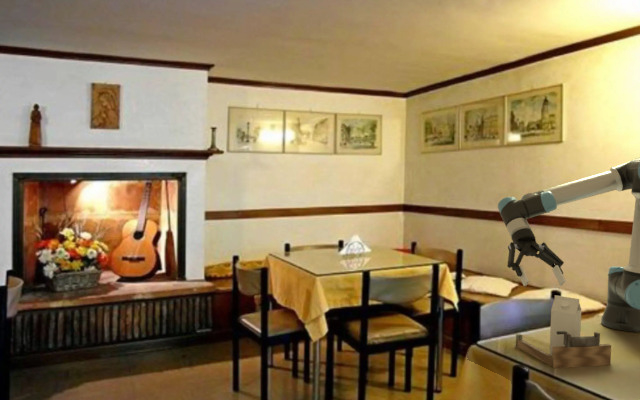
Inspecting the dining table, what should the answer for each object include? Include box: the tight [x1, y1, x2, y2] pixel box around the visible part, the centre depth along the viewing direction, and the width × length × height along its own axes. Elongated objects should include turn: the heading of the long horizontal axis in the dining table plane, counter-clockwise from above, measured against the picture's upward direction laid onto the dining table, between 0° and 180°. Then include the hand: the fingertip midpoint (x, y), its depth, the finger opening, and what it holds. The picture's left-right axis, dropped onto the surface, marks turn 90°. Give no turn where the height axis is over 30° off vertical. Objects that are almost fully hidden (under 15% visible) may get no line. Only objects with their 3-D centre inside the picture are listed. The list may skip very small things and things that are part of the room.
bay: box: [515, 331, 612, 369], centre depth 162 cm, size 19×21×11 cm
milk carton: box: [549, 294, 582, 355], centre depth 160 cm, size 7×7×19 cm
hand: (545, 283), depth 170 cm, fingers open, 13 cm apart
